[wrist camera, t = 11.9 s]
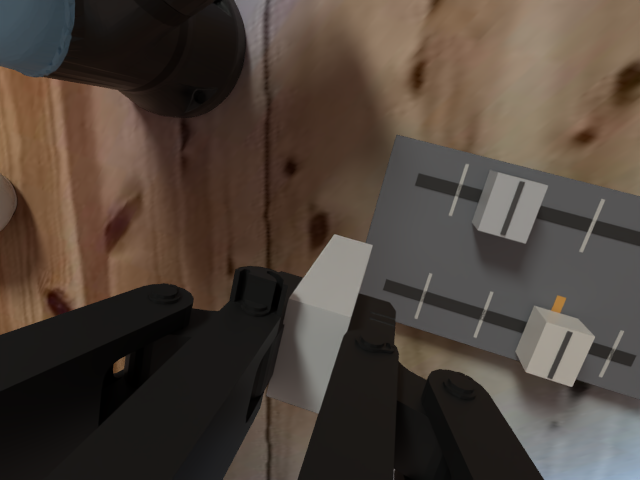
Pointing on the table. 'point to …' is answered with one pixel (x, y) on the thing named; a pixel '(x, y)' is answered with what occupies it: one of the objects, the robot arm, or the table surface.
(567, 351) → the fader rear
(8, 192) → the lidded jar
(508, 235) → the fader front
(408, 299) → the console
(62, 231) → the table surface
